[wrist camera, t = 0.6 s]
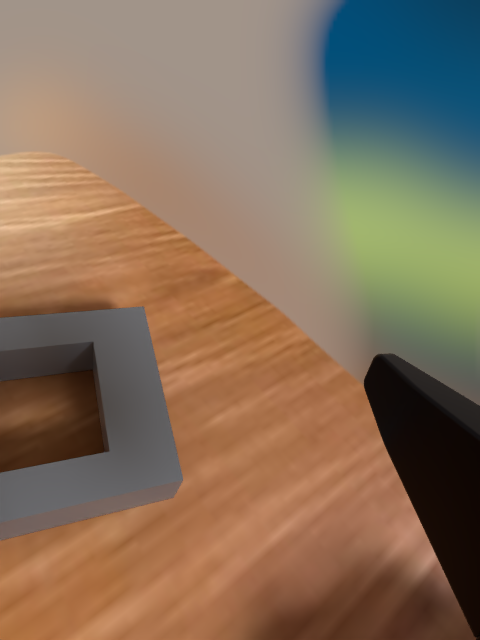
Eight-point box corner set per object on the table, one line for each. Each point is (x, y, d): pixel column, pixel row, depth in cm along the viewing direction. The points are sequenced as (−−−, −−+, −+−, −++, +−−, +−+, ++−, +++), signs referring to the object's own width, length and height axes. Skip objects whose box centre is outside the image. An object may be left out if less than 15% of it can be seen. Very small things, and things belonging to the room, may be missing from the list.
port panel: (173, 497, 23) (184, 477, 20) (-113, 568, 18) (-147, 554, 16) (139, 335, 28) (144, 302, 25) (-93, 359, 23) (-115, 321, 21)
